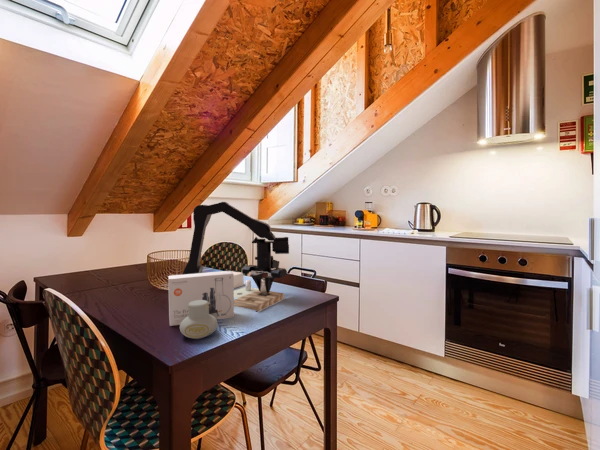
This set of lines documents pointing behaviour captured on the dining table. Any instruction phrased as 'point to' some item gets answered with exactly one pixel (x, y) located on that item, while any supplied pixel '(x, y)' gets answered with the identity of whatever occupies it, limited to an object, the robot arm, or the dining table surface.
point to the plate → (245, 290)
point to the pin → (263, 287)
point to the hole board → (258, 300)
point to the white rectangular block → (238, 279)
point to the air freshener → (198, 320)
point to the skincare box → (201, 294)
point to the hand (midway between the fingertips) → (264, 291)
